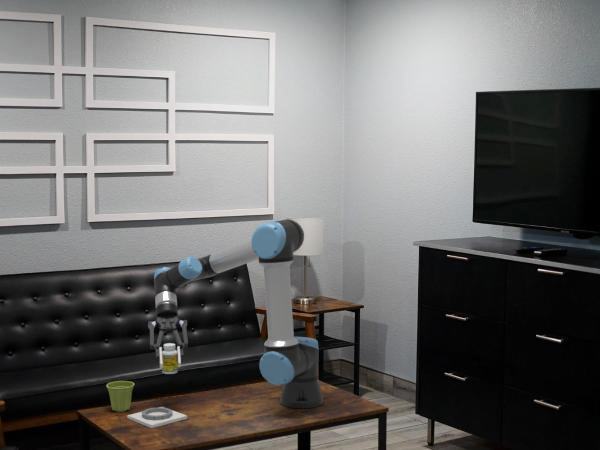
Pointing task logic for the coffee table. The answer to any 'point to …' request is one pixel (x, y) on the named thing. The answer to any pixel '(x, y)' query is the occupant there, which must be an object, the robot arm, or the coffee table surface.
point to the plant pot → (120, 395)
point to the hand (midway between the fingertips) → (170, 365)
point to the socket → (157, 417)
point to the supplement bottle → (169, 359)
